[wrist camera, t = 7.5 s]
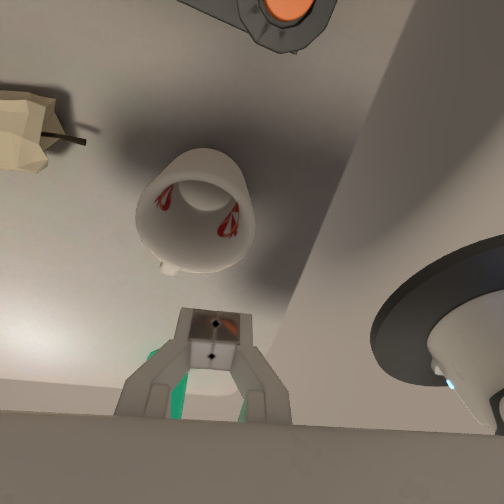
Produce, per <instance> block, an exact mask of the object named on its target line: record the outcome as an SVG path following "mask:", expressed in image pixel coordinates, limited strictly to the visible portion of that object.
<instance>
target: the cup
mask: <svg viewBox="0 0 504 504" xmlns="http://www.w3.org/2000/svg"><path fill="white" fill-rule="evenodd" d="M135 217H136V226H137V230H138V233H139V236H140V238H141V240H142V242H143V243H144V245H145V246H146V248H147V249H148V250H149V251H150V252H151V253H152V254H153V255H154V256H155V257H156V258H157V259H159V260H160V261H161V264H160V268H159V269H160V271H161V272H162V273H163V274H165V275H168V276H175V275H176V274H177V273H178V272H179V271H184V272H189V273H199V274H203V273H213V272H218V271H221V270H224V269H226V268H229V267H231V266H232V265H234V264H236V263H237V262H238V261H239V260H241V259H242V258H243V257H244V256H245V255H246V253H247V252H248V250H249V249H250V247H251V245H252V243H253V240H254V237H255V232H256V219H255V214H254V210H253V207H252V203H251V200H250V196H249V193H248V189H247V186H246V182H245V179H244V176H243V174H242V172H241V170H240V168H239V167H238V165H237V164H236V163H235V162H234V161H233V160H232V159H231V158H230V157H229V156H227V155H226V154H224V153H222V152H220V151H217V150H214V149H209V148H197V149H192V150H189V151H187V152H185V153H183V154H181V155H180V156H178V157H177V158H176V159H175V160H174V161H172V162H171V163H170V164H169V165H168V166H167V167H166V168H165V169H164V170H163V171H162V172H161V173H160V174H159V175H158V176H157V177H156V178H155V179H154V180H153V181H152V182H151V183H150V184H149V185H148V186H147V188H146V189H145V190H144V192H143V193H142V195H141V197H140V199H139V201H138V204H137V208H136V216H135Z"/></svg>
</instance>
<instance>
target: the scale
mask: <svg viewBox="0 0 504 504" xmlns="http://www.w3.org/2000/svg"><path fill="white" fill-rule="evenodd" d="M177 1H179V2H181V3H183V4H186V5H188V6H190V7H192V8H194V9H196V10H199V11H201V12H203V13H205V14H207V15H210V16H212V17H214V18H216V19H218V20H220V21H223V22H225V23H227V24H229V25H231V26H233V27H236V28H238V29H240V30H242V31H244V32H247V33H249V34H250V36H251V37H252V39H253V40H254V42H255V43H256V44H258V45H260V46H263V47H265V48H267V49H269V50H271V51H274V52H276V53H280V54H282V53H287V52H290V53H292V54H297V52H298V50H301V49H304V48H306V47H307V46H308V45H309V44H310V43H311V42H312V41H313V40H314V39H315V38H316V37H318V36H319V35H320V34H321V33H322V32H323V31H324V30H325V28H326V27H327V25H328V22H329V20H330V17H331V15H332V13H333V10H334V8H335V5H336V3H337V0H314V1H313V3H312V5H311V6H310V8H309V9H308V11H307V12H306V13H305V14H304V15H303V16H301V17H300V18H298V19H296V20H293V21H290V22H281V21H278V20H276V19H274V18H273V17H272V16H271V15H270V14H269V13H268V11H267V9H266V7H265V5H264V2H263V0H177Z"/></svg>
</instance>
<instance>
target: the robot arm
mask: <svg viewBox="0 0 504 504" xmlns="http://www.w3.org/2000/svg"><path fill="white" fill-rule="evenodd" d="M427 348H428V351H429V352H430V354H431V355H432V361H431V368H432V370H433V371H434V373H435V374H437V375H444V376H445V378H446V379H447V381H446V382H447V383H448V385H449V386H450V388H453V389H454V390H455V392H456V393H457V395H458V396H459V397H460V399H461V400H462V401H463V403H464V404H465V406H466V407H467V409H468V410H469V411H470V413H471V414H472V415H473V417H474V418H475V419H476V421H477V422H478V423H480V424H481V425H484V426H486V427H488V428H491V429H493V430H494V431H495V435H482V434H461V433H442V432H423V431H403V430H384V429H382V430H381V429H362V428H344V427H325V426H305V425H292V417H291V409H290V401H289V394H288V390H287V389H286V387H285V386H284V385H283V383H282V382H281V381H280V379H279V378H278V376H277V375H276V373H275V372H274V371H273V369H272V368H271V366H270V365H269V364H268V362H267V361H266V360H265V358H264V357H263V355H262V354H261V352H260V351H259V350H258V348H257V347H255V346H253V333H252V315H251V314H244V313H240V314H239V313H235V312H223V311H210V310H202V309H192V308H183V307H182V308H181V310H180V314H179V318H178V322H177V327H176V331H175V335H174V339H173V340H171V339H170V340H169V341H168V342H167V343H165V344H164V345H163V346H162V347H161V348H160V349H159V350H158V351H157V352H156V353H155V354H154V355H152V356H151V357H150V358H149V359H148V360H147V361H146V362H145V363H144V364H143V365H142V366H141V367H140V368H138V369H137V370H136V371H135V372H134V373H133V374H132V375H131V376H130V377H129V378H128V379H127V380H126V381H125V384H124V387H123V390H122V392H121V395H120V398H119V401H118V404H117V407H116V409H115V412H114V415H113V416H111V415H90V414H70V413H51V412H31V411H12V410H0V504H504V289H503V290H499V291H495V292H491V293H488V294H485V295H482V296H479V297H477V298H474V299H472V300H470V301H468V302H466V303H464V304H462V305H460V306H459V307H457V308H455V309H454V310H452V311H451V312H449V313H448V314H447V315H445V316H444V317H443V318H442V319H441V320H440V321H439V322H438V323H437V324H436V325H435V326H434V328H433V329H432V330H431V332H430V334H429V336H428V339H427ZM190 368H195V369H213V370H223V371H230V373H231V375H232V377H233V379H234V381H235V383H236V385H237V387H238V389H239V391H240V393H241V395H242V397H243V399H244V402H243V405H242V409H241V412H240V415H239V418H238V422H228V421H209V420H208V421H207V420H189V419H171V392H172V391H173V390H174V388H175V387H176V386H177V385H178V383H179V382H180V381H181V380H182V378H183V377H184V376H185V375H186V373H187V372H188V371H189V369H190Z"/></svg>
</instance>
